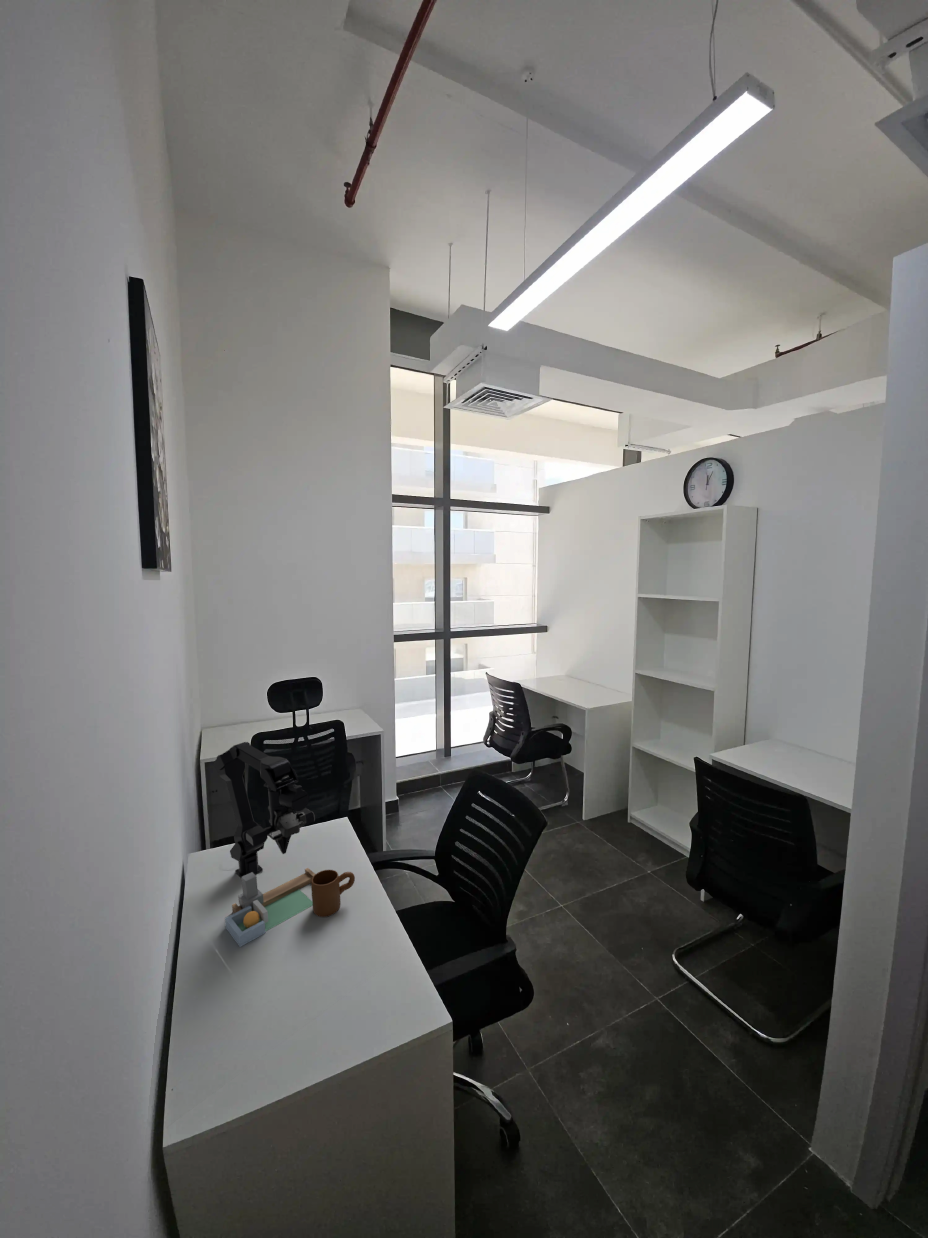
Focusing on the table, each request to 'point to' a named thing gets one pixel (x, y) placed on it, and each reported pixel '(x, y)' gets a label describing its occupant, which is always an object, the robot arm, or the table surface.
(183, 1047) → the table surface
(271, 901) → the rail
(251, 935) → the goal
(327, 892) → the mug
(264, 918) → the kicker
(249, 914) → the ball
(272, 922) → the pitch mat
